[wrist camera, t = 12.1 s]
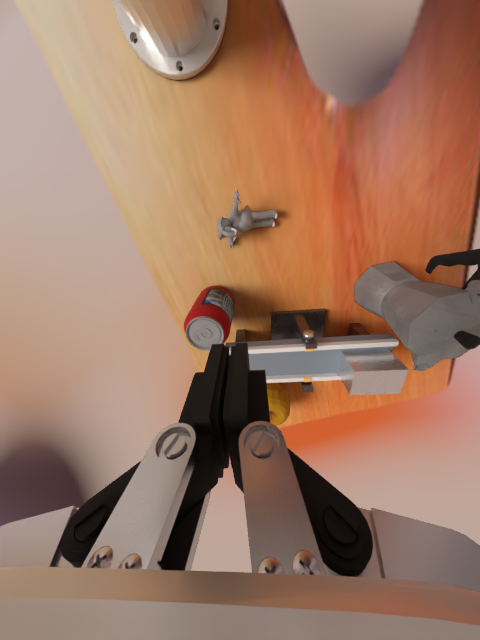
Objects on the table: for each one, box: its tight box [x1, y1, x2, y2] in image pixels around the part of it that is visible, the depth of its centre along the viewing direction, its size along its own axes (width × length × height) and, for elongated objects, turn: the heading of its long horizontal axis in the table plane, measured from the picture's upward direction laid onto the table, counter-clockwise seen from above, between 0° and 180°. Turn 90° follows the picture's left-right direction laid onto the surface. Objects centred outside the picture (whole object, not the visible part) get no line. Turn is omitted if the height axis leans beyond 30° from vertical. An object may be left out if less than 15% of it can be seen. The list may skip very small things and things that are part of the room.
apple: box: [267, 383, 290, 426], centre depth 46 cm, size 8×8×9 cm
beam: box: [225, 334, 399, 383], centre depth 35 cm, size 7×26×2 cm, turn 95°
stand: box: [236, 309, 370, 392], centre depth 38 cm, size 11×24×11 cm, turn 95°
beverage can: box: [184, 286, 234, 350], centre depth 35 cm, size 7×7×12 cm
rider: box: [337, 348, 409, 395], centre depth 32 cm, size 4×7×5 cm, turn 95°
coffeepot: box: [354, 249, 480, 371], centre depth 29 cm, size 15×9×18 cm, turn 171°
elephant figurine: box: [217, 190, 277, 248], centre depth 32 cm, size 10×6×9 cm
